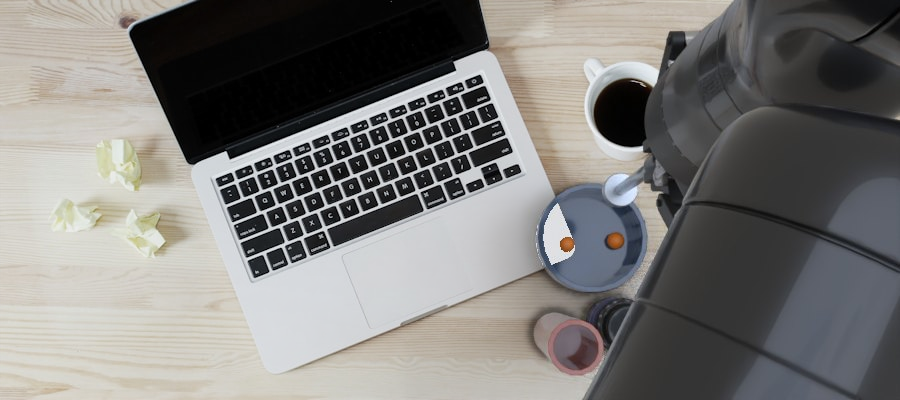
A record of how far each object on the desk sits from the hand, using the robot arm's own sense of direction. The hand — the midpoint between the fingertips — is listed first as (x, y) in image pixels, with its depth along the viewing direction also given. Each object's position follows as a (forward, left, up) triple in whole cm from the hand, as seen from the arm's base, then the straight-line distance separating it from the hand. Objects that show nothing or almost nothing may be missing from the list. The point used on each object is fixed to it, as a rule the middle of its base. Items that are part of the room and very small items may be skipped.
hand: (658, 163), depth 52 cm
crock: (-14, +4, -37) cm, 40 cm away
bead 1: (-4, +3, -35) cm, 36 cm away
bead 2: (-3, -3, -35) cm, 36 cm away
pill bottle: (-13, -3, -37) cm, 39 cm away
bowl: (-3, 0, -37) cm, 37 cm away
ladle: (0, 0, -15) cm, 15 cm away
